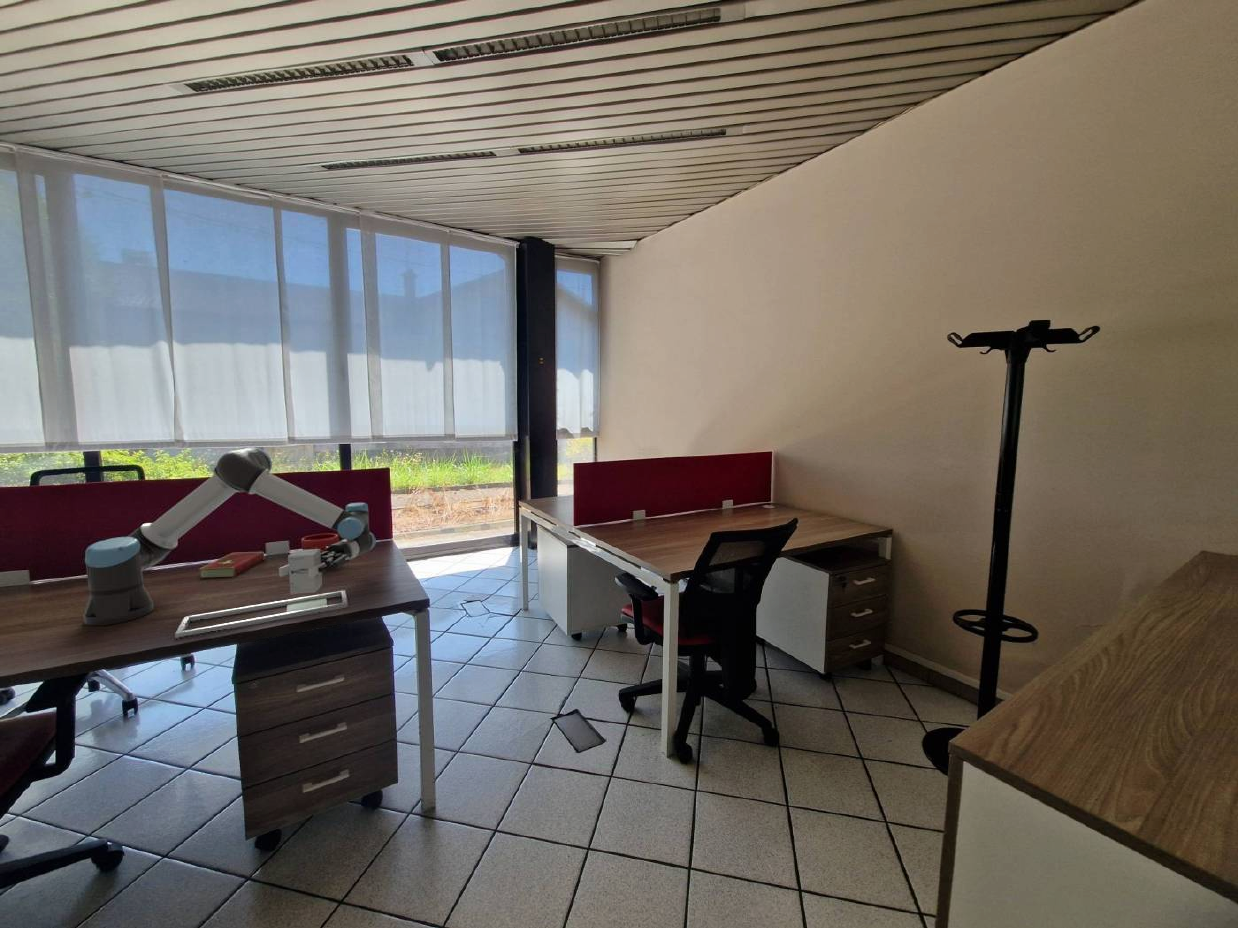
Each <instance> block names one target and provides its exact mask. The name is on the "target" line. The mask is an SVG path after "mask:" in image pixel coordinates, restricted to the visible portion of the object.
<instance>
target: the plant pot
mask: <svg viewBox="0 0 1238 928" xmlns="http://www.w3.org/2000/svg"><path fill="white" fill-rule="evenodd" d="M339 538H340V535H339V534H338V533H318V534H317V533H316V534H312V535H307V536H304V537H302V538H301V539H300V540H301V542H300V543H301V550H309V549H321V553H322V552H325V551H326V550H327V548H328V547H329V546H330V545H333V544H335V543H338V542H340V540H339ZM325 565H326V564H325Z"/></svg>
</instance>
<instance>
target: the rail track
mask: <svg viewBox="0 0 1238 928" xmlns="http://www.w3.org/2000/svg"><path fill="white" fill-rule="evenodd" d="M338 597H341V600H342V601H341V603H340V602H339V603H334V604H327V606H322V607H316V608H310V609H305V610H299V611H293V612H288V613H286V612H283V613H277V614H272V615H266V616H262V617H261V616H260V617H255V618H249V619H245V620H237V621H232V622H227V623H221V624H220V623H219V624H216V625H215V624H214V625H210V626H204V627H197V628H193V629H192V628H191V629H187V628H188V626H189V624H190V621H192V622H197V620H198V621H201V620H200V619H204V620H208V619H209V620H210V619H214V618H219V617H227V616H232V615H238V614H242V613H243V614H245V613H250V612H254V611H261V610H267V609H274V608H278V607H285V606H286V607H287V605H288V604H294V603H299V602H305V601H311V600H317V599H323V598H326V600H327V599H331V598H338ZM348 605H349V603H348V598H347V594H346V590H345V589H343V590H339V591H333V592H331V591H330V592H326V593H321V594H315V595H309V596H308V595H307V596H302V597H296V598H291V599H284V600H279V601H270V602H265V603H260V604H253V605H247V606H243V607H237V608H236V607H235V608H230V609H223V610H218V611H212V612H205V613H199V614H192V615H188V616H184V618H183V619H182V621H181V622H180V625H179V626H178V628H177V630H176V632H175V633H174V637H175V638H177V639H180V638H179V637H183V636H185V635H192V634H198V633H204V632H210V631H216V632H218V631H217V630H221V631H224V630H223V629H227V630H231V628H232V629H237V627H238V628H242V627H247V626H253V625H259V624H263V623H271V622H275V620H276V621H281V620H286V619H292V618H297V617H303V616H308V614H309V615H313V613H314V614H319V613H318V612H320V613H324V612H330V611H336V610H340V609H341V610H342V609H347V608H348ZM346 607H347V608H346ZM280 619H281V620H280ZM186 627H187V628H186ZM185 629H186V630H185ZM210 633H211V632H210ZM183 638H184V637H183Z"/></svg>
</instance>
